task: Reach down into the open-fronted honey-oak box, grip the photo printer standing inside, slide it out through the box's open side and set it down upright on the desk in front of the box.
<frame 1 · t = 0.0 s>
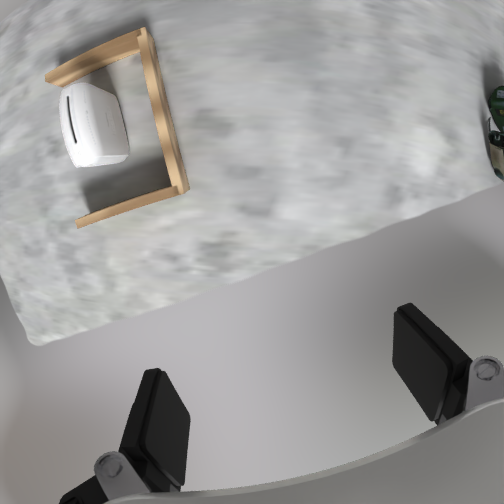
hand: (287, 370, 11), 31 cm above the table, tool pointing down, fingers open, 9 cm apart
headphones: (500, 134, 38), on the table
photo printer: (113, 129, 35), on the table
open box: (125, 124, 35), on the table
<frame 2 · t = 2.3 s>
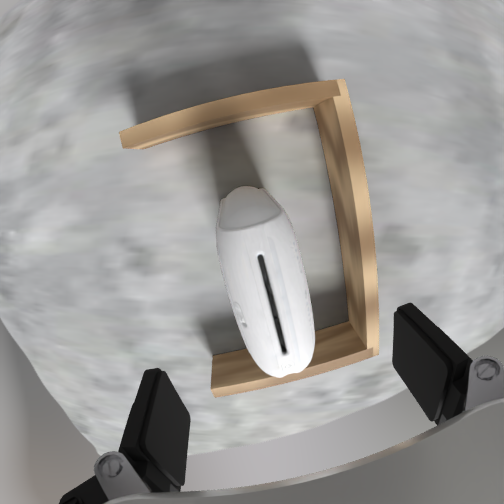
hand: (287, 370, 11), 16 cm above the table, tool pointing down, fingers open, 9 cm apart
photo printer: (255, 243, 26), on the table
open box: (278, 238, 25), on the table
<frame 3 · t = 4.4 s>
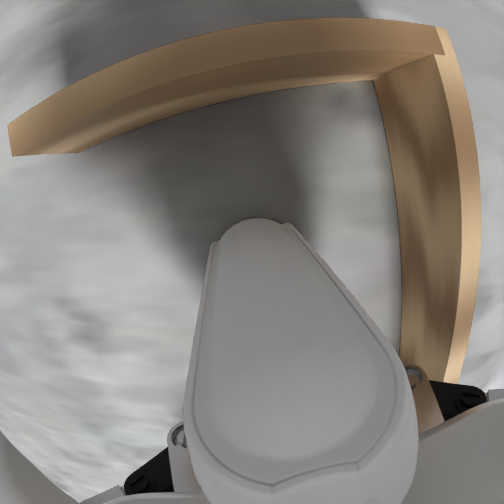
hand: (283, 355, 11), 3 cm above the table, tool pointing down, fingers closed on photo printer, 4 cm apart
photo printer: (271, 313, 15), on the table, touching gripper
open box: (310, 304, 15), on the table
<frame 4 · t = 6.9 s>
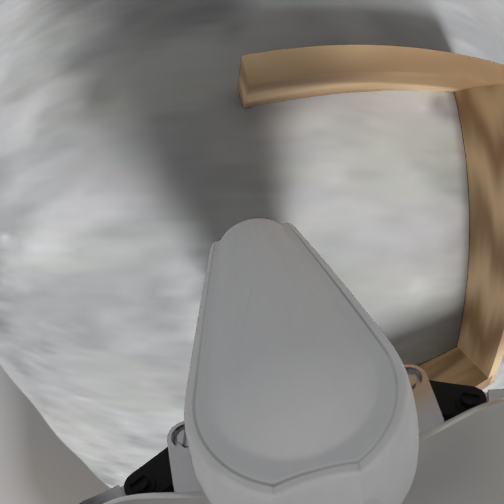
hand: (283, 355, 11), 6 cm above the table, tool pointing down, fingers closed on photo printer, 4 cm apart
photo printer: (272, 313, 15), point 2 cm above the table, touching gripper
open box: (415, 253, 17), on the table
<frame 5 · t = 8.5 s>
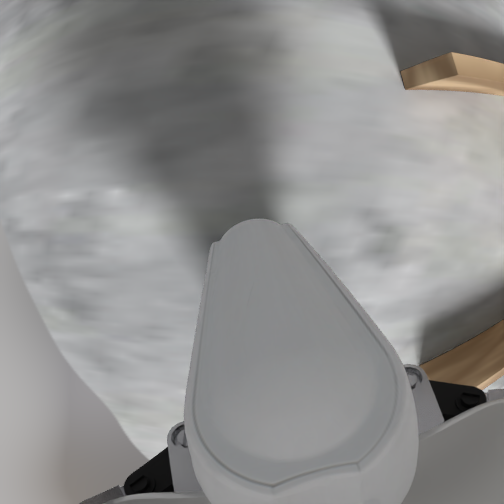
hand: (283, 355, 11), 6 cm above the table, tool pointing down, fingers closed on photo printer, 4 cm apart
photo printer: (271, 313, 15), point 2 cm above the table, touching gripper
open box: (502, 223, 17), on the table
when the fingers open (4 cm above the table, at t = 9.6 s): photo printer stays where it is, on the table.
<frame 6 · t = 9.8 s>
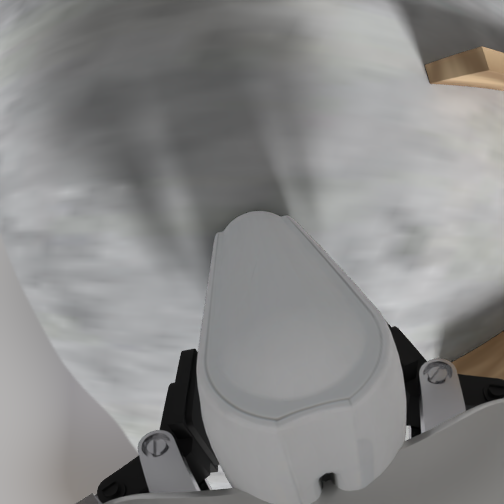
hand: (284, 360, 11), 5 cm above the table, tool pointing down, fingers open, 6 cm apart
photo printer: (271, 302, 16), on the table
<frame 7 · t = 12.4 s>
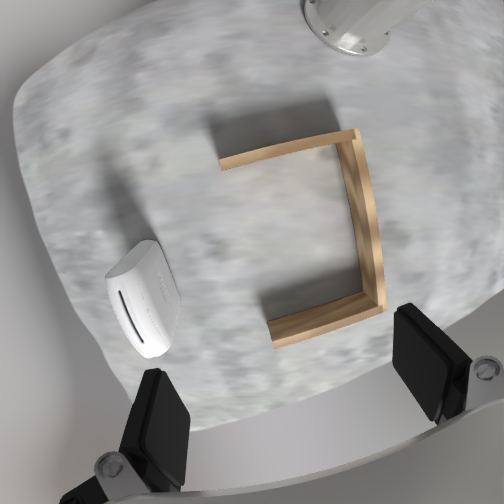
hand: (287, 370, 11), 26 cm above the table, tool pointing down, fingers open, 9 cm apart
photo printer: (158, 276, 37), on the table
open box: (314, 232, 37), on the table
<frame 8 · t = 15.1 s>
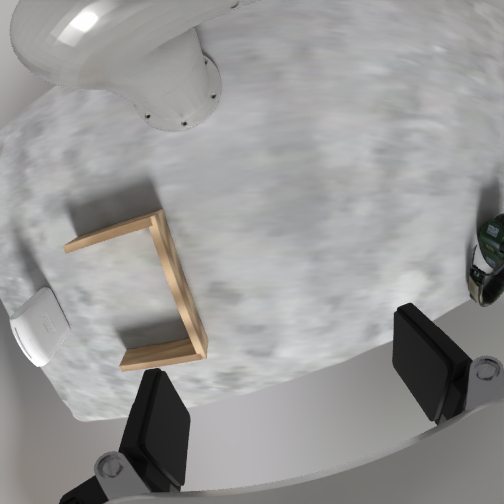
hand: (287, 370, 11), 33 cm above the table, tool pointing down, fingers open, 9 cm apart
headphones: (484, 255, 49), on the table
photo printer: (55, 310, 45), on the table
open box: (148, 289, 45), on the table
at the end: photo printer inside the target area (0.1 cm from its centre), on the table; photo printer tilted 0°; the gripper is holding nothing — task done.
